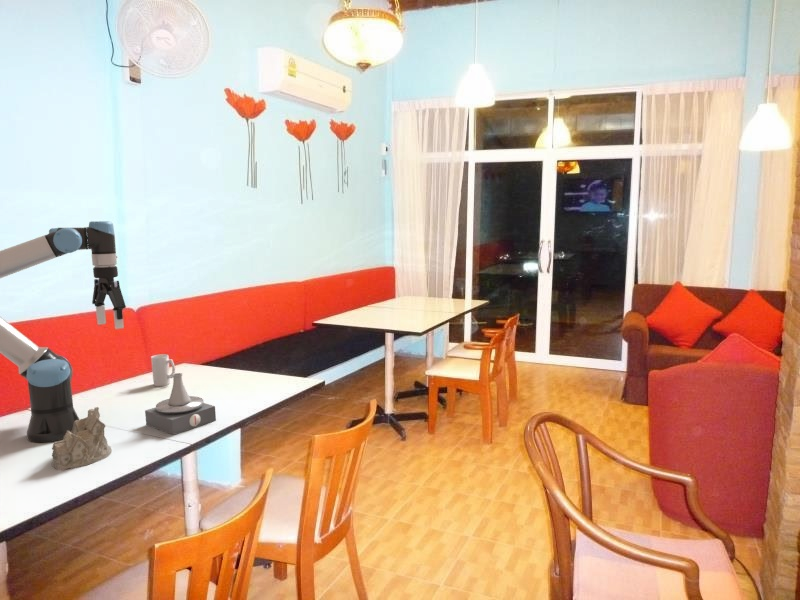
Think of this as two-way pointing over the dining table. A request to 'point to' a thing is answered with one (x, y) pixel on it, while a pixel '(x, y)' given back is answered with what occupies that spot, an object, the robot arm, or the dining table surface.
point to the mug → (161, 369)
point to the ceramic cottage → (82, 443)
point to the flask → (178, 392)
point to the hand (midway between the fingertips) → (110, 326)
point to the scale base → (180, 419)
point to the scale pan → (179, 406)
